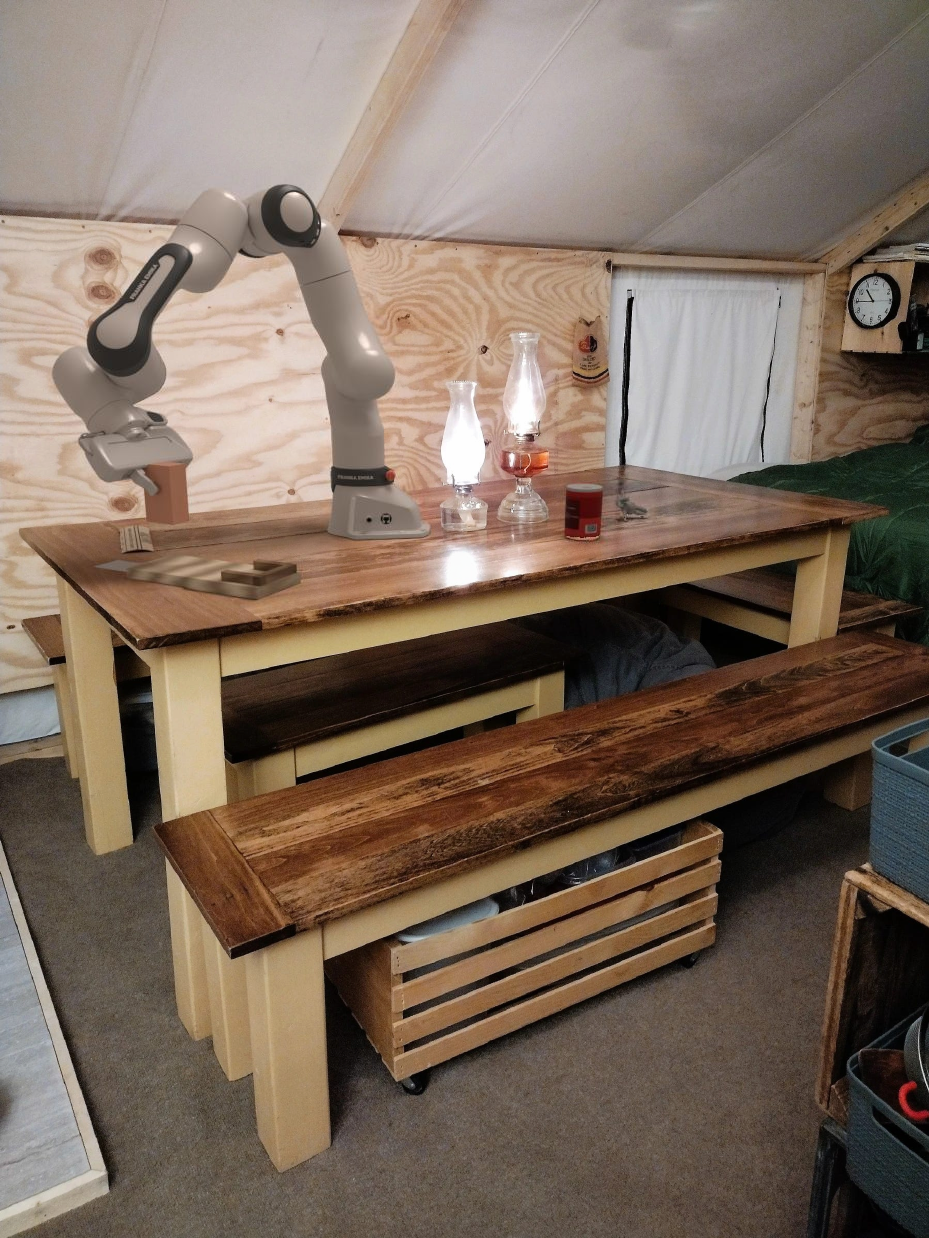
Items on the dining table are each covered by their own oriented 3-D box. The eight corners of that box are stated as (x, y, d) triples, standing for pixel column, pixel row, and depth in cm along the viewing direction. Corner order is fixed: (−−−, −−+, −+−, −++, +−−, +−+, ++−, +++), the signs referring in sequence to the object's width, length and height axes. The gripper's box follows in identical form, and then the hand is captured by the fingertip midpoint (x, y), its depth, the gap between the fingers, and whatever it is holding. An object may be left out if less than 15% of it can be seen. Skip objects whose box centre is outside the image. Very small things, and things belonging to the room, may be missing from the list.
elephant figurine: (656, 523, 215) (623, 511, 212) (641, 537, 220) (609, 526, 217) (652, 491, 221) (621, 479, 218) (638, 505, 226) (606, 494, 222)
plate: (93, 568, 168) (93, 566, 167) (118, 561, 173) (118, 560, 173) (126, 573, 164) (126, 571, 164) (150, 566, 170) (150, 564, 169)
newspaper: (119, 534, 199) (118, 526, 198) (154, 532, 201) (153, 524, 201) (121, 559, 178) (120, 550, 177) (160, 556, 180) (159, 547, 180)
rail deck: (126, 579, 161) (124, 559, 160) (175, 564, 171) (173, 546, 170) (257, 599, 149) (256, 578, 148) (300, 582, 160) (299, 563, 159)
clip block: (146, 521, 160) (141, 463, 157) (162, 517, 164) (158, 461, 161) (173, 524, 158) (168, 466, 155) (189, 521, 161) (185, 463, 158)
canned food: (604, 535, 200) (607, 485, 197) (593, 542, 194) (596, 490, 190) (571, 532, 204) (573, 482, 200) (559, 539, 197) (561, 487, 193)
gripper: (81, 422, 150) (132, 487, 148) (170, 413, 167) (216, 472, 166) (64, 448, 153) (114, 512, 152) (153, 437, 170) (198, 494, 169)
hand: (168, 491), depth 159 cm, fingers closed on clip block, 4 cm apart
